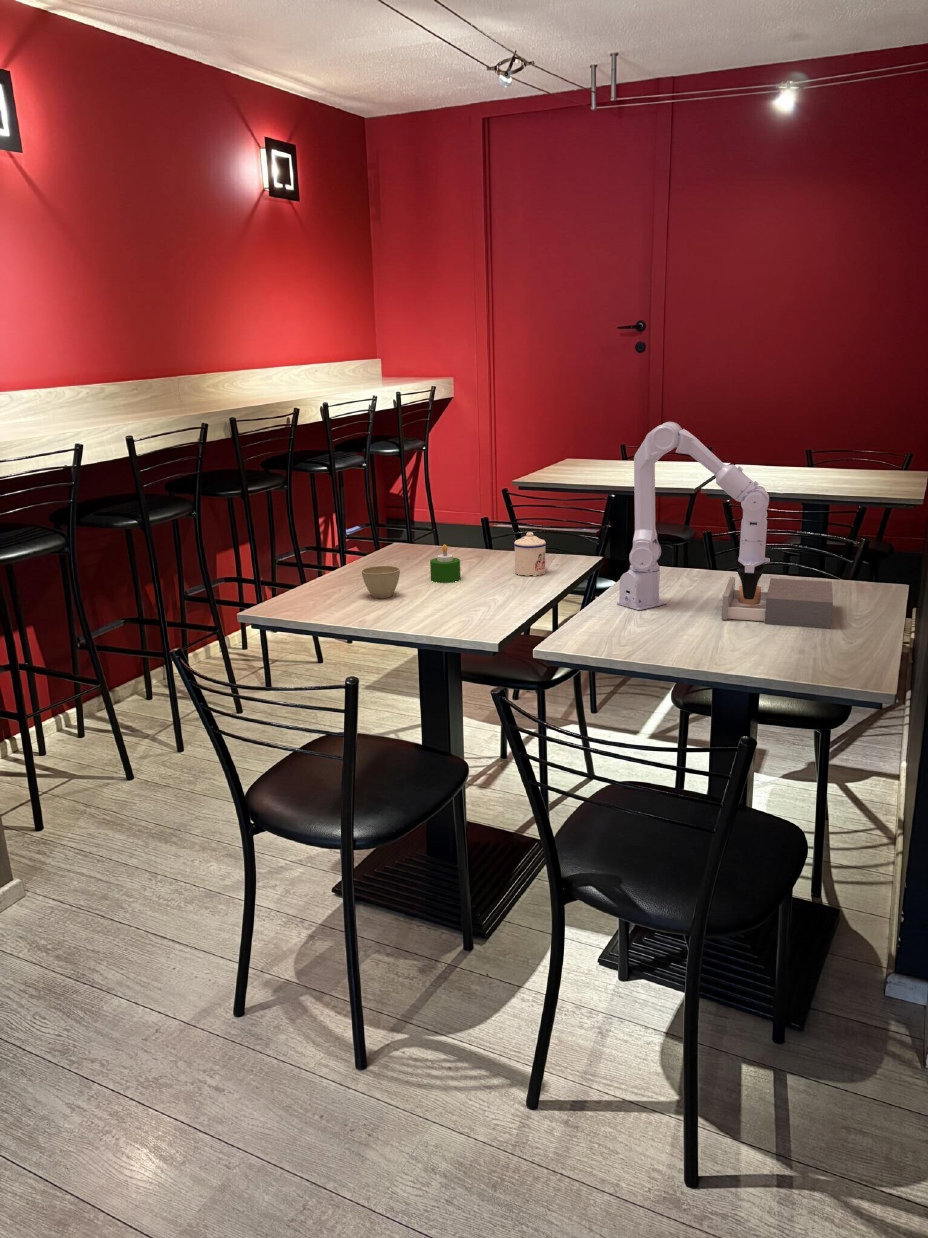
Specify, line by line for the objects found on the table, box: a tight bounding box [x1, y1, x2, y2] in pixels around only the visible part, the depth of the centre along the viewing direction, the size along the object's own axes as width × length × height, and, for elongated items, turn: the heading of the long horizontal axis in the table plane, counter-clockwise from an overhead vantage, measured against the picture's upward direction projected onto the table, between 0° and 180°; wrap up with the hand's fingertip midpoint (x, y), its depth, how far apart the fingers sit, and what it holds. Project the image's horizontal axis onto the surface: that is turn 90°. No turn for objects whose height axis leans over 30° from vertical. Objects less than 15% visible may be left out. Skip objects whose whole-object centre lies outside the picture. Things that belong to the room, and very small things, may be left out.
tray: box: [721, 576, 768, 622], centre depth 222 cm, size 12×20×6 cm, turn 160°
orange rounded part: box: [738, 585, 762, 605], centre depth 222 cm, size 5×5×4 cm
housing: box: [764, 577, 834, 629], centre depth 218 cm, size 14×20×6 cm
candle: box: [429, 543, 461, 584], centre depth 260 cm, size 8×8×10 cm
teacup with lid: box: [513, 531, 547, 577], centre depth 266 cm, size 12×9×12 cm
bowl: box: [360, 565, 401, 599], centre depth 244 cm, size 10×10×7 cm
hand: (749, 596), depth 222 cm, fingers closed on orange rounded part, 5 cm apart
